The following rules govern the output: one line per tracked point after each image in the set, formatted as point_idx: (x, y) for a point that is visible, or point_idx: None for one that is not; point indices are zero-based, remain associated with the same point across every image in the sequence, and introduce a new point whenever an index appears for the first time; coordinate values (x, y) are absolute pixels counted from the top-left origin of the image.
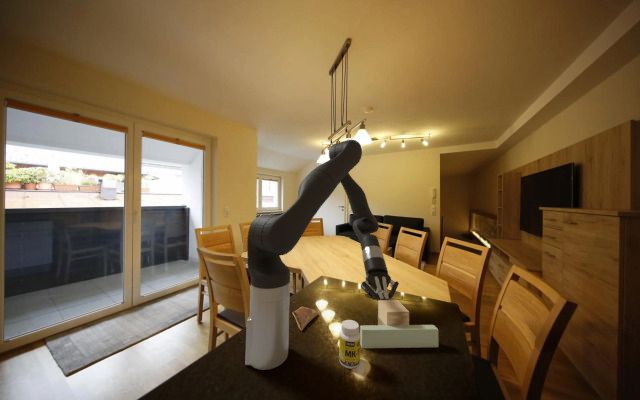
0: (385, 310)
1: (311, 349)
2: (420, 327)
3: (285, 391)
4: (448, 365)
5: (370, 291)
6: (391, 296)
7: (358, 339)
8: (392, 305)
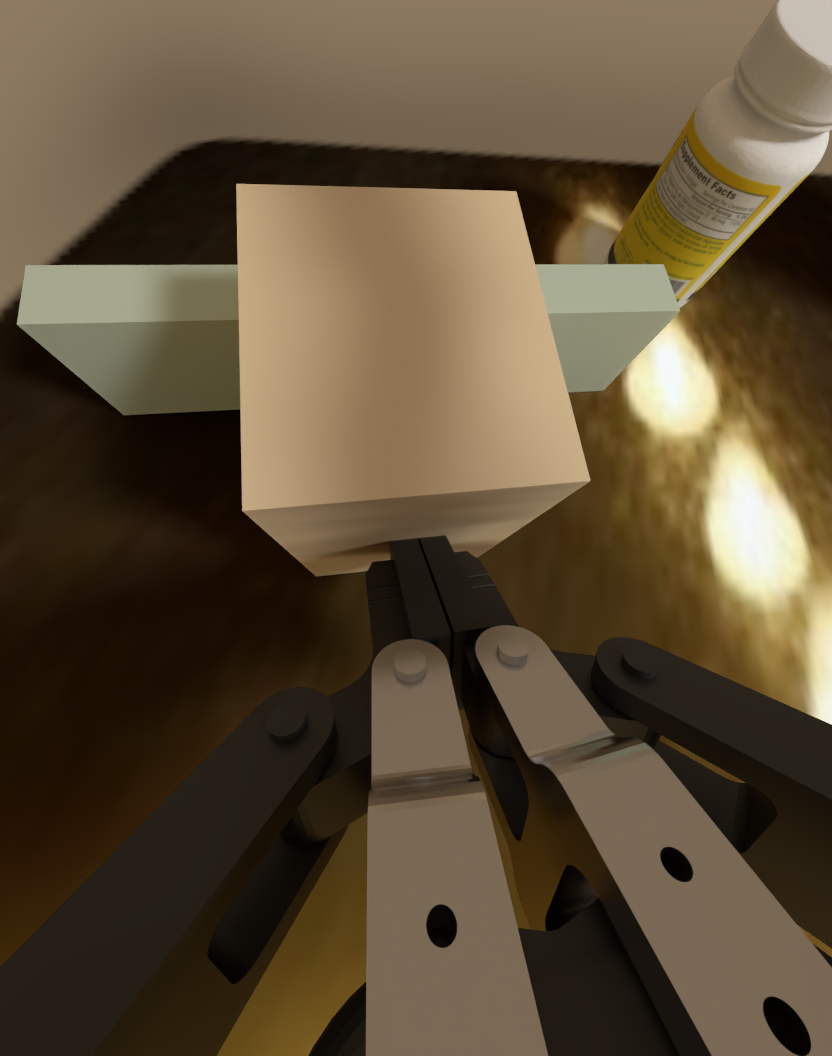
0: (522, 243)
1: (819, 344)
2: (187, 290)
3: (816, 181)
4: (174, 251)
5: (782, 711)
6: (303, 693)
7: (705, 95)
8: (406, 326)
